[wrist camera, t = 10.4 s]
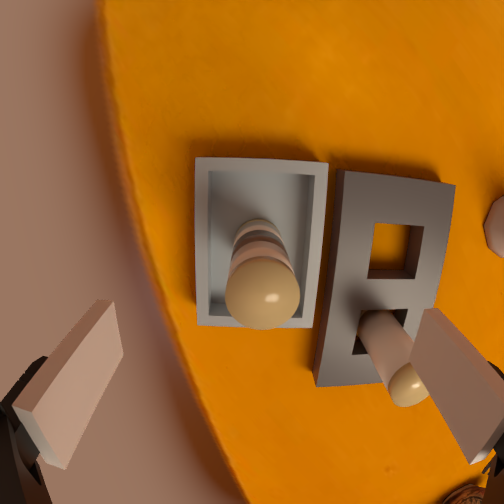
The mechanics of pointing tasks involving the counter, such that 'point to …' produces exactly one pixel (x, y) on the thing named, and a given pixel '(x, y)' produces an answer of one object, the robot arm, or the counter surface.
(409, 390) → the cylinder
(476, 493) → the ceramic jug
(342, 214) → the block
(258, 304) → the cylinder
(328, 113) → the counter surface
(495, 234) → the flask
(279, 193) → the parts tray
